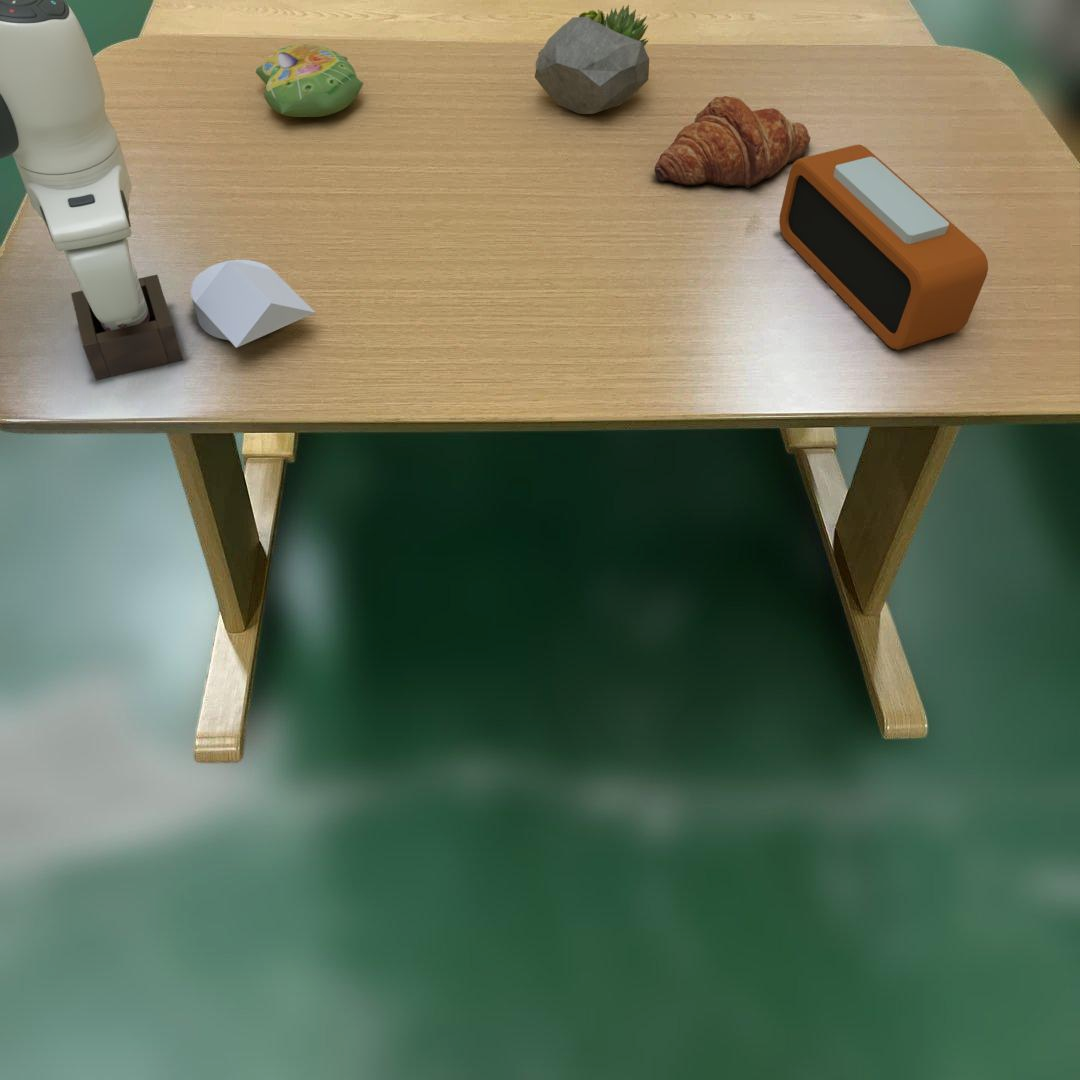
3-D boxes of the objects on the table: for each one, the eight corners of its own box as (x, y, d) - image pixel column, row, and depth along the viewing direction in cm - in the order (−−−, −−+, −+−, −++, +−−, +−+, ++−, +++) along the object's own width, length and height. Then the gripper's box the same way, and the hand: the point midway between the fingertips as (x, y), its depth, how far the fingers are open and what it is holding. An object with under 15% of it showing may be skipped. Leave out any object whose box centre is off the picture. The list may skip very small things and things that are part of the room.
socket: (96, 380, 110) (82, 345, 107) (83, 327, 115) (70, 292, 111) (183, 359, 112) (172, 325, 109) (167, 308, 117) (157, 274, 114)
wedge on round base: (319, 338, 115) (257, 275, 121) (311, 285, 110) (246, 222, 116) (242, 373, 111) (182, 306, 117) (229, 321, 106) (167, 253, 112)
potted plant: (513, 75, 143) (574, 1, 147) (582, 148, 147) (639, 74, 152) (557, 34, 132) (621, -45, 137) (630, 114, 137) (690, 35, 141)
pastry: (698, 115, 144) (706, 56, 138) (811, 145, 140) (826, 85, 134) (650, 181, 134) (657, 120, 128) (771, 215, 131) (785, 154, 124)
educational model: (345, 61, 151) (341, 21, 147) (374, 121, 141) (370, 81, 137) (252, 75, 148) (244, 35, 144) (275, 137, 138) (268, 97, 134)
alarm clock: (774, 231, 129) (794, 142, 120) (834, 214, 131) (858, 126, 122) (898, 358, 115) (930, 269, 106) (962, 338, 118) (999, 249, 109)
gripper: (26, 123, 104) (70, 246, 114) (53, 248, 92) (100, 372, 103) (95, 111, 105) (133, 234, 116) (131, 232, 94) (169, 356, 104)
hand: (118, 300), depth 109 cm, fingers closed on pill bottle, 5 cm apart
